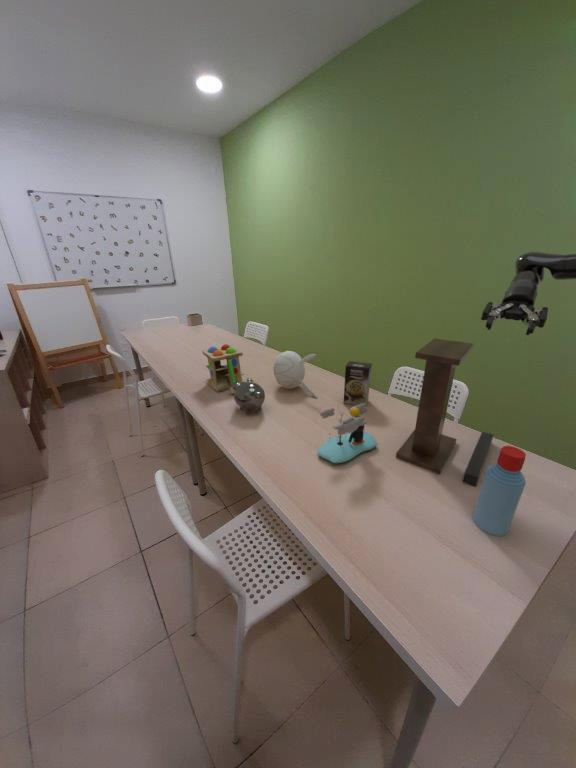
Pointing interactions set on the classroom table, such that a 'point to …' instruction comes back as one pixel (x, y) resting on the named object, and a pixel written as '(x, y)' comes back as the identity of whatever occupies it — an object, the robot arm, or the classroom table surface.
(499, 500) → the bottle
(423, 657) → the classroom table surface
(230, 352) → the pounding bench toy
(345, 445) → the penguin figurine
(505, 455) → the cap
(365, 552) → the classroom table surface
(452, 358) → the stand
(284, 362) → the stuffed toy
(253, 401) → the piggy bank
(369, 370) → the coffee box
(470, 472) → the dark grey bar
